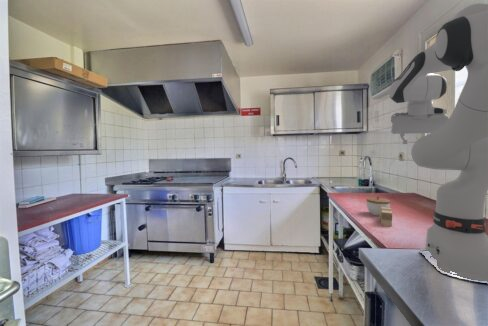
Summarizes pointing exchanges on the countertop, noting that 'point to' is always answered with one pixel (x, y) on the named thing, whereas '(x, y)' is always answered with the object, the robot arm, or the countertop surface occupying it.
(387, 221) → the beech block
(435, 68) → the robot arm
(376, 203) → the lidded jar
